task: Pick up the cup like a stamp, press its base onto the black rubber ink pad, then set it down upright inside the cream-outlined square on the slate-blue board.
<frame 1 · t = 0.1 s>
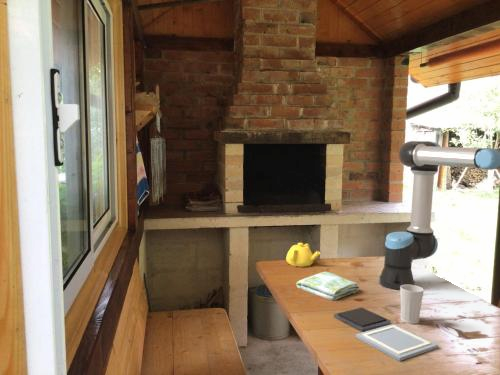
cup: (409, 320, 162), on the table
ink pad: (361, 320, 161), on the table
towel: (327, 291, 193), on the table
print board: (395, 342, 144), on the table
teapot: (303, 264, 231), on the table
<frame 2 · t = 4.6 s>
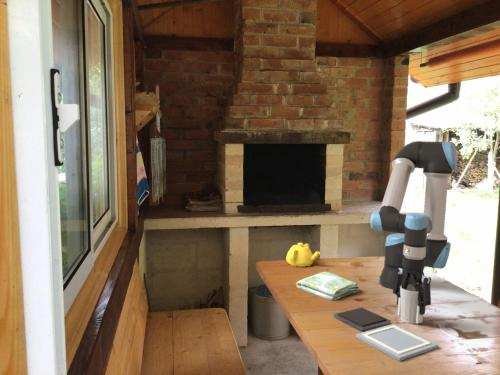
hand: (409, 318, 162), 1 cm above the table, fingers closed on cup, 7 cm apart
cup: (409, 320, 162), on the table, touching gripper
everything else where it was.
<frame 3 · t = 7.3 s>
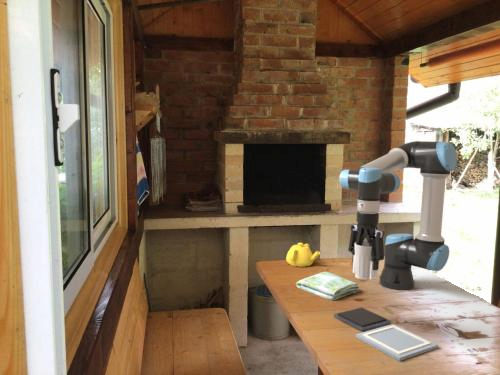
hand: (364, 275, 159), 17 cm above the table, fingers closed on cup, 7 cm apart
cup: (364, 277, 159), point 16 cm above the table, touching gripper
everything else where it was.
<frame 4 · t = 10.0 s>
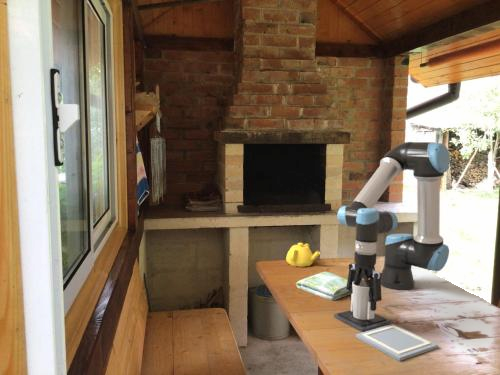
hand: (362, 314, 161), 2 cm above the table, fingers closed on cup, 7 cm apart
cup: (361, 316, 161), point 1 cm above the table, touching gripper, ink pad
everything else where it was.
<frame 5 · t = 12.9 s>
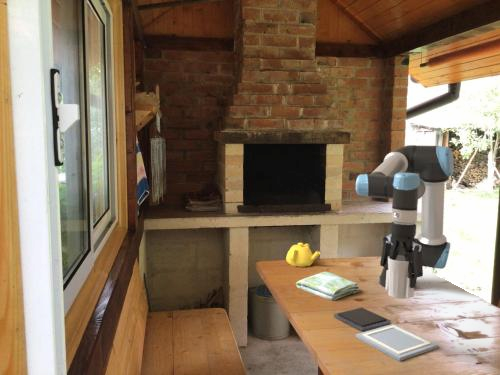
hand: (399, 293, 142), 16 cm above the table, fingers closed on cup, 7 cm apart
cup: (398, 295, 142), point 16 cm above the table, touching gripper
everything else where it was.
when the fingers open (3 cm above the table, at t = 15.6 s): cup drops 1 cm, resting on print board.
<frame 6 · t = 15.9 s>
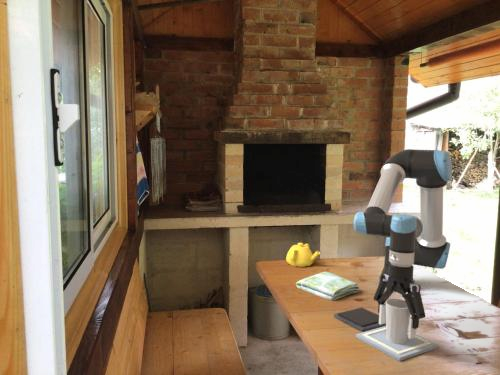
hand: (396, 330, 144), 4 cm above the table, fingers open, 11 cm apart
cup: (396, 339, 144), point 1 cm above the table, touching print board
everything else where it was.
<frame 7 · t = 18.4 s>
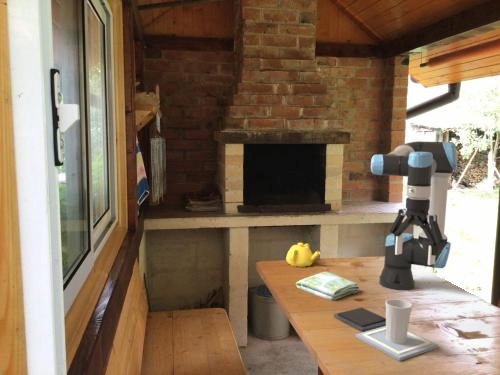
hand: (414, 259, 153), 24 cm above the table, fingers open, 13 cm apart
nothing on the table moved.
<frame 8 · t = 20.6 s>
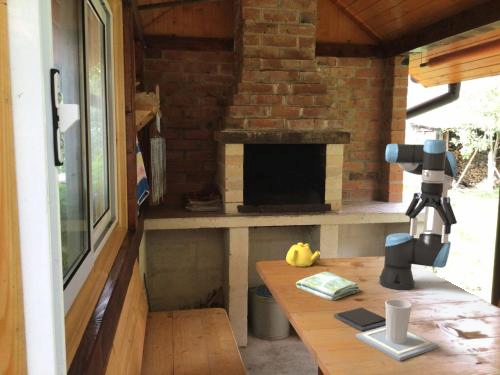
hand: (428, 238, 166), 29 cm above the table, fingers open, 13 cm apart
nothing on the table moved.
at the end: cup inside the target area on the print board (0.0 cm from its centre), point 0.8 cm above the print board's base; cup tilted 0°; the gripper is holding nothing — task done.
